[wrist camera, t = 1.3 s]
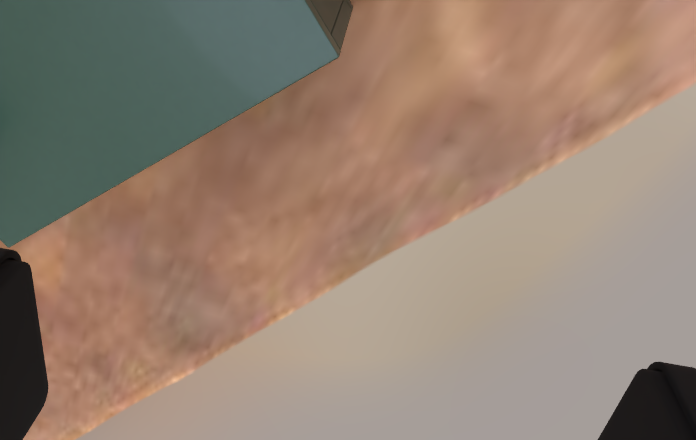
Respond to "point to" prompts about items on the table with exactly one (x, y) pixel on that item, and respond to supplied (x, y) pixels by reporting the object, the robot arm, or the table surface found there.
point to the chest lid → (131, 88)
